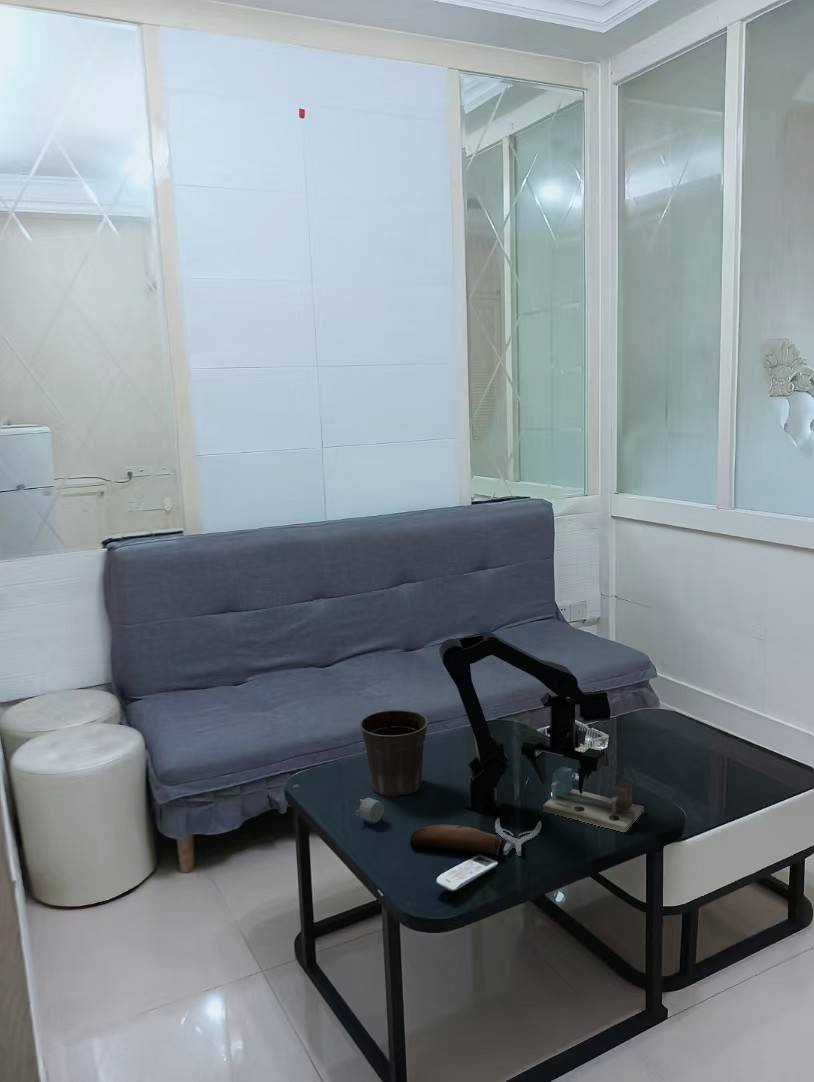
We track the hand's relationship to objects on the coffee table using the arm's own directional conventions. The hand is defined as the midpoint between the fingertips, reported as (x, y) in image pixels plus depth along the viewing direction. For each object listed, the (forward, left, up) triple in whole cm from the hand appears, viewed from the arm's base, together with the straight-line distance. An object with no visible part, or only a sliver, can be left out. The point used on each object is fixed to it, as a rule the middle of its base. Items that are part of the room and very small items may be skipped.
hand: (562, 788), depth 195 cm
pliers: (-20, +1, -4) cm, 21 cm away
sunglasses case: (-29, +10, -3) cm, 31 cm away
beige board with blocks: (-1, -8, -3) cm, 9 cm away
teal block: (-2, 0, -1) cm, 2 cm away
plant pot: (-13, +37, -3) cm, 40 cm away
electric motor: (-30, +32, -3) cm, 44 cm away
